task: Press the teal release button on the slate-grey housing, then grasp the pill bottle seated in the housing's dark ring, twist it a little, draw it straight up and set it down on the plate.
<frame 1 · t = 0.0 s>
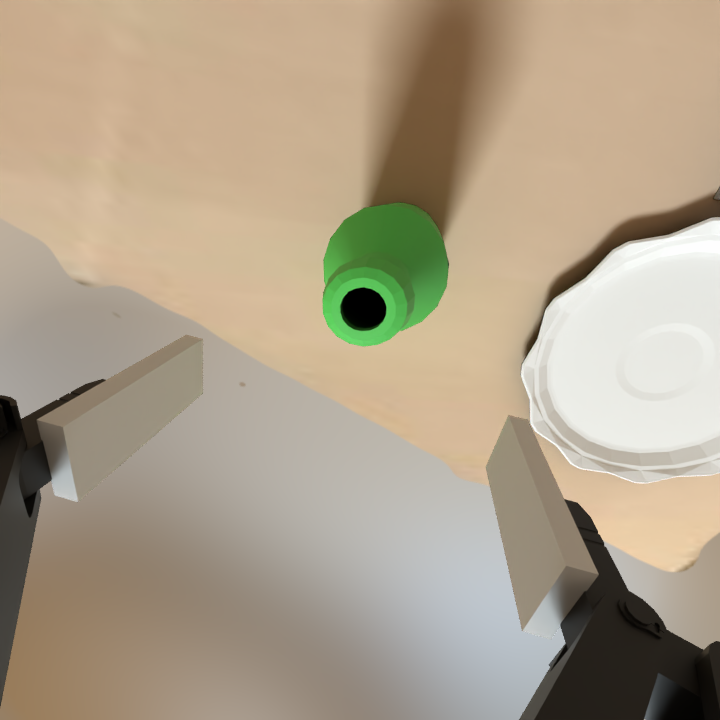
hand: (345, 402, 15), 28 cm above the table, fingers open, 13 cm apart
bottle: (399, 246, 39), on the table
plate: (660, 361, 40), on the table
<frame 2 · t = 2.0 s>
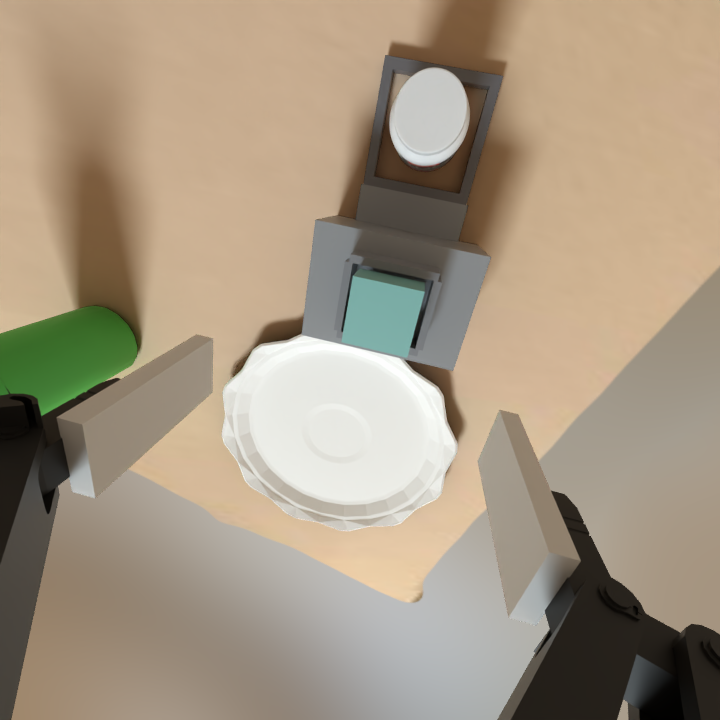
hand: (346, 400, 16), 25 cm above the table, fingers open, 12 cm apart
bottle: (111, 336, 47), on the table
plunger: (383, 312, 27), point 12 cm above the table, slide at 0.0 cm
plate: (337, 431, 47), on the table
housing: (427, 136, 32), on the table
pill bottle: (427, 136, 32), resting in housing
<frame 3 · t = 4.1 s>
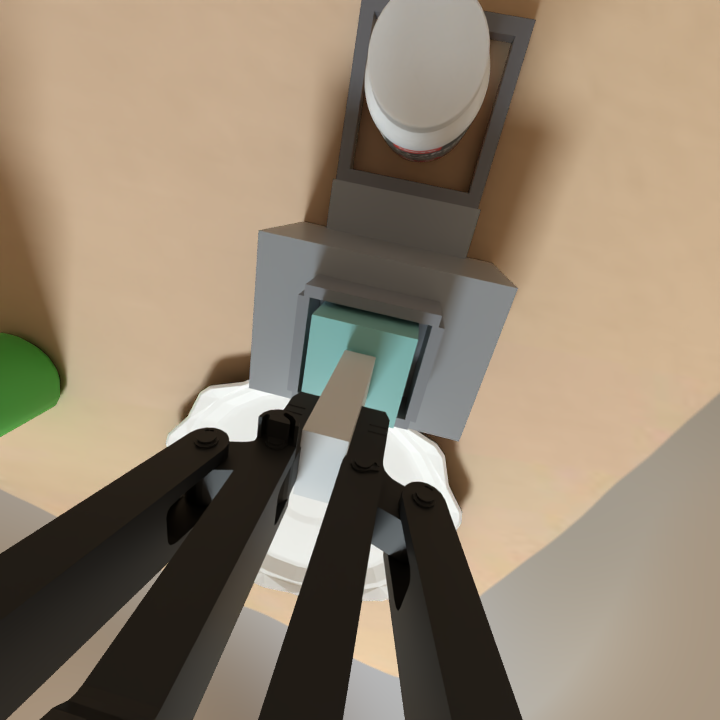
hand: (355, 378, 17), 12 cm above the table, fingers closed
bottle: (30, 369, 37), on the table
plunger: (359, 361, 19), point 10 cm above the table, slide at 1.3 cm, touching gripper
plate: (312, 488, 38), on the table
housing: (425, 111, 23), on the table
pill bottle: (425, 112, 23), resting in housing
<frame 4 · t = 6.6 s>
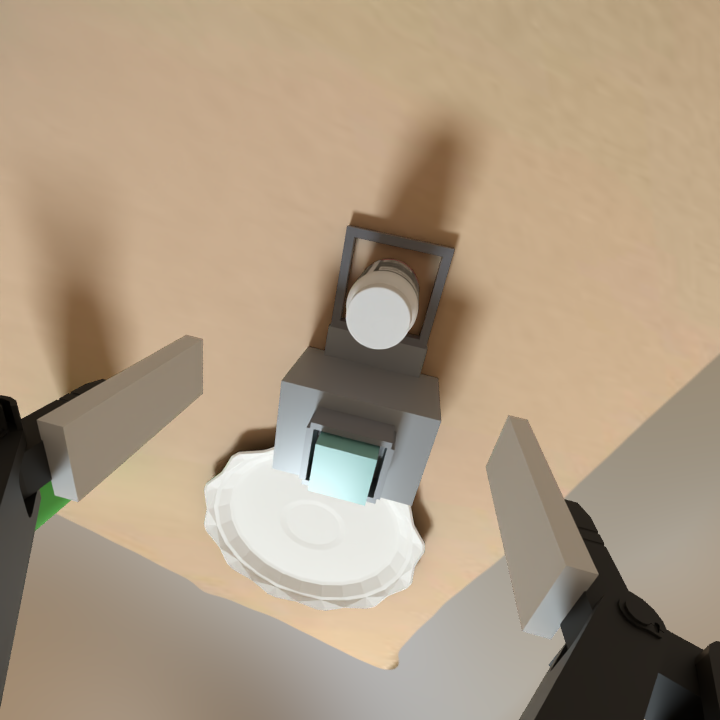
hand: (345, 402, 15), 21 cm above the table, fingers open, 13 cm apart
bottle: (99, 431, 49), on the table
plunger: (344, 463, 31), point 10 cm above the table, slide at 1.4 cm
plate: (313, 521, 50), on the table
housing: (389, 288, 35), on the table
pill bottle: (389, 287, 35), resting in housing
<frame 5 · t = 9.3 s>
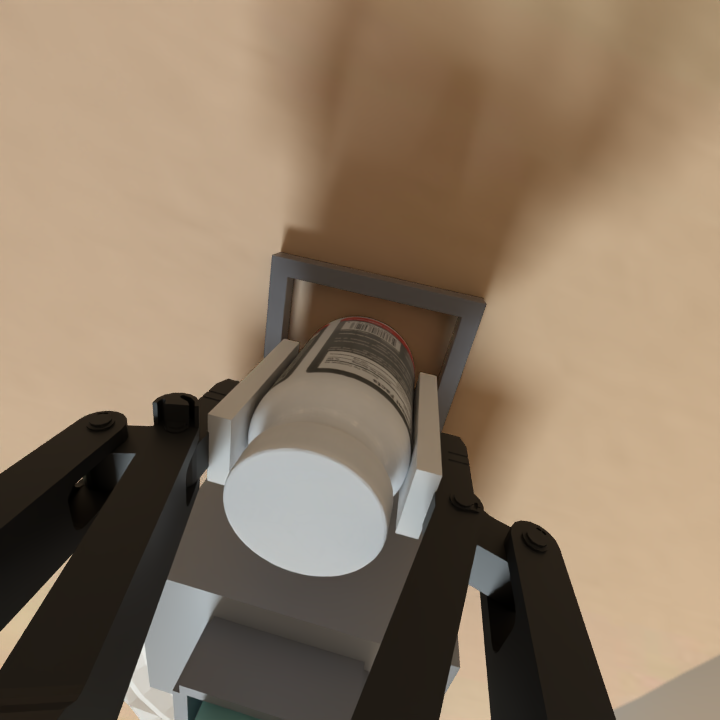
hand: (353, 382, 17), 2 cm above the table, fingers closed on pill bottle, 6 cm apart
plate: (262, 674, 34), on the table
housing: (360, 366, 19), on the table
pill bottle: (360, 364, 19), resting in housing, touching gripper
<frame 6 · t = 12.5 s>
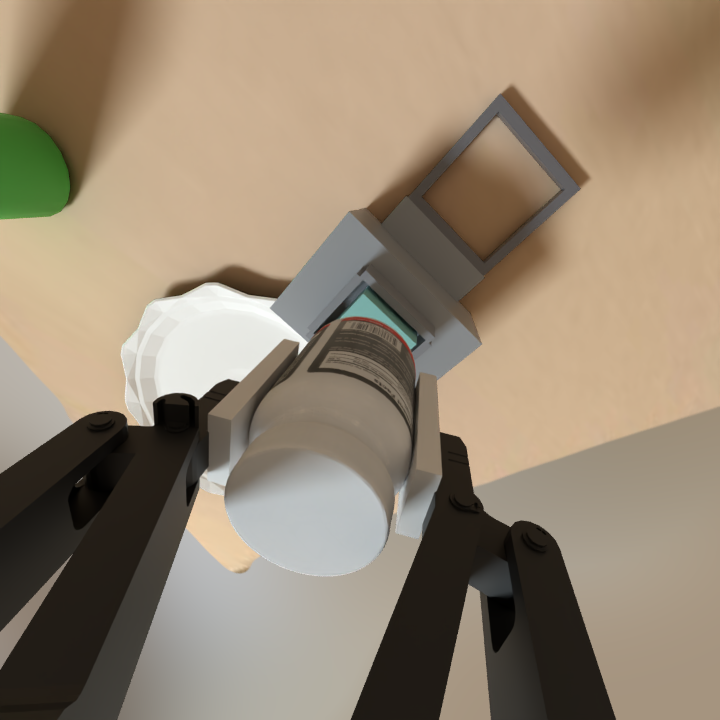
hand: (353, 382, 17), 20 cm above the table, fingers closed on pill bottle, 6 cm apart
bottle: (39, 169, 37), on the table
plunger: (368, 336, 27), point 10 cm above the table, slide at 1.4 cm
plate: (248, 400, 45), on the table
housing: (489, 193, 31), on the table
pill bottle: (361, 364, 19), point 18 cm above the table, touching gripper
when the fingers open (5 cm above the table, at t = 15.9 s): pill bottle drops 1 cm, resting on plate.
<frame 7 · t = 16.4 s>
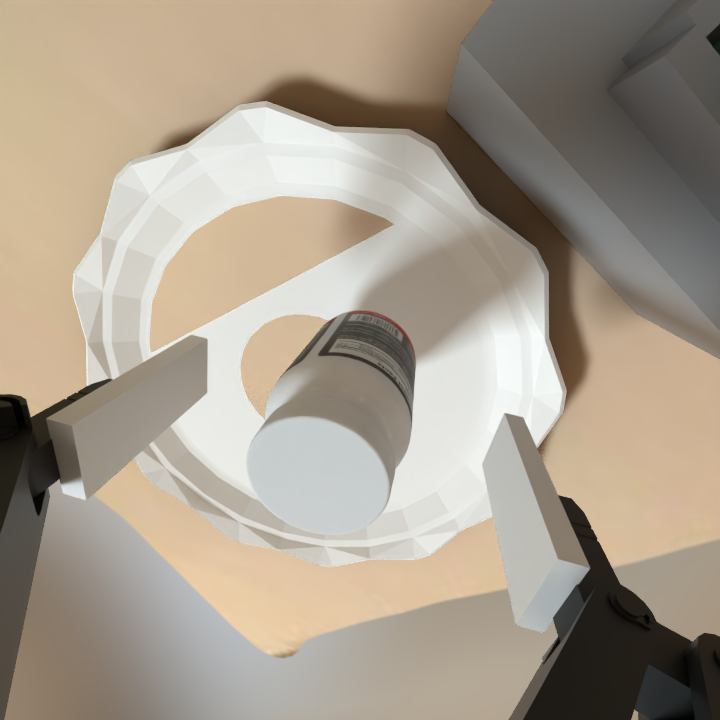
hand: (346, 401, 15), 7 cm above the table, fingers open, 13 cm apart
plate: (310, 378, 24), on the table, touching pill bottle
pill bottle: (365, 355, 20), point 2 cm above the table, touching plate
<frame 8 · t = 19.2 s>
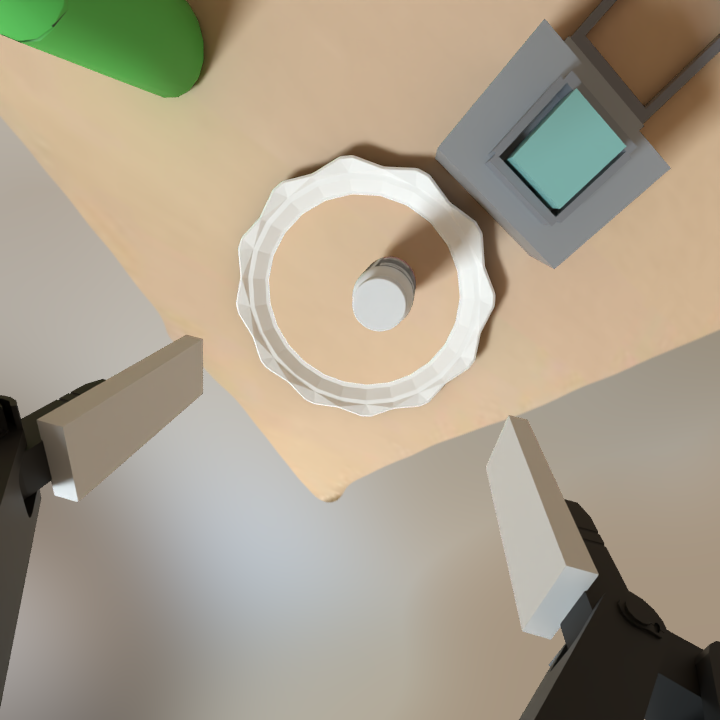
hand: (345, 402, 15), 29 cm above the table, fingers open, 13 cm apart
bottle: (168, 47, 36), on the table
plunger: (560, 154, 26), point 10 cm above the table, slide at 1.4 cm
plate: (361, 299, 44), on the table, touching pill bottle
housing: (655, 29, 30), on the table
pill bottle: (390, 282, 40), point 2 cm above the table, touching plate
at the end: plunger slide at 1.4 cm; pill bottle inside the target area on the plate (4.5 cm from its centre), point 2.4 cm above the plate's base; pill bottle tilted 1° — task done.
